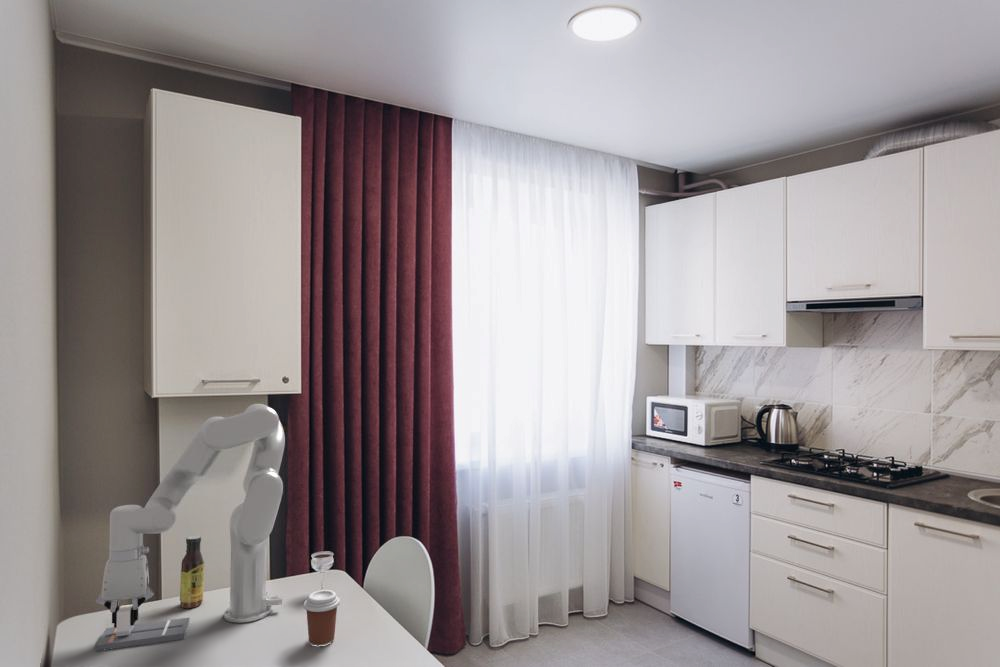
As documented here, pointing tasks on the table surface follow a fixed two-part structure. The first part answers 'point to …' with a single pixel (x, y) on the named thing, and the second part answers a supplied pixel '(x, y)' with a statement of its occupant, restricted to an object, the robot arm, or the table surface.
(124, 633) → the fader
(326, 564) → the wineglass
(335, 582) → the table surface
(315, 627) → the coffee cup
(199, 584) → the sauce bottle
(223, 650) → the table surface
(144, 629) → the grey slider base
